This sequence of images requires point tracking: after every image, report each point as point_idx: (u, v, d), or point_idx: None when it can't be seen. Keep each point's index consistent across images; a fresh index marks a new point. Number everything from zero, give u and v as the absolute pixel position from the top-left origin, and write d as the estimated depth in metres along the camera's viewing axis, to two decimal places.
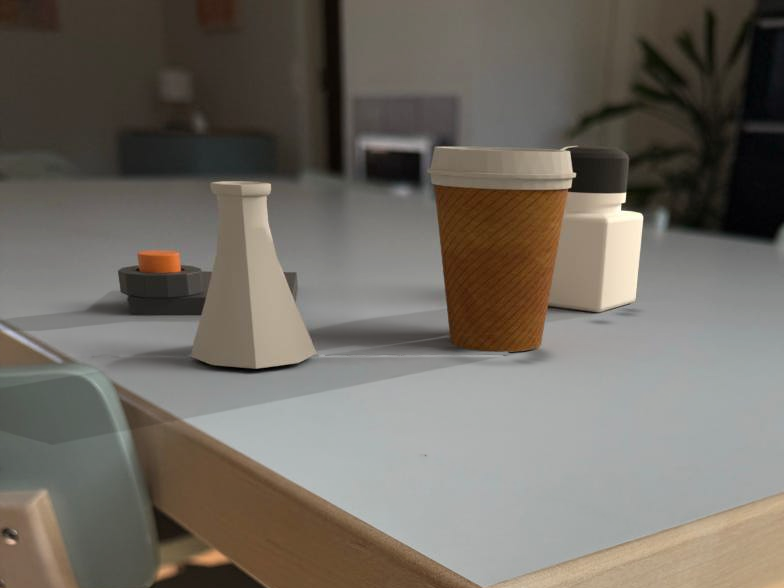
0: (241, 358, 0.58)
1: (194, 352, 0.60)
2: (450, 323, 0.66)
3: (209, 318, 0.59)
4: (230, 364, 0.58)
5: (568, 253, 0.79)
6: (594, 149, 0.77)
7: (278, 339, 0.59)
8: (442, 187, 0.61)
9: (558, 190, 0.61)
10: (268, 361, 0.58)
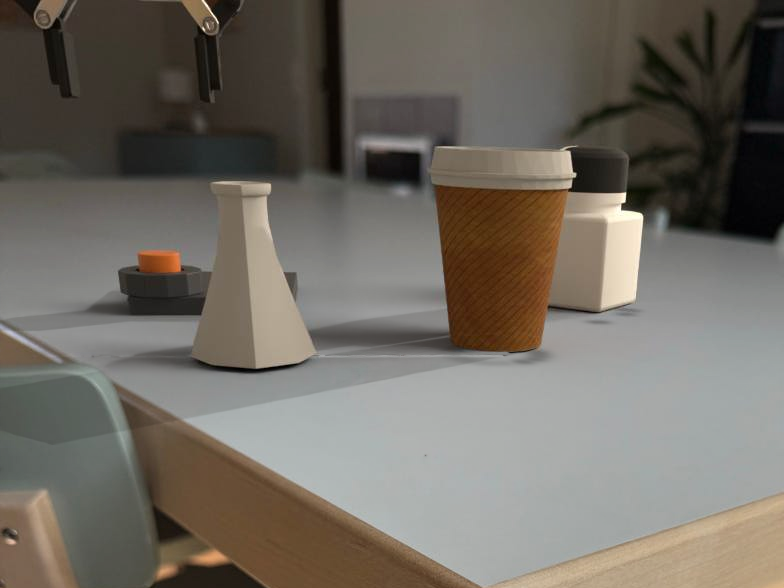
0: (241, 358, 0.58)
1: (194, 352, 0.60)
2: (450, 323, 0.66)
3: (209, 318, 0.59)
4: (230, 364, 0.58)
5: (568, 253, 0.79)
6: (594, 149, 0.77)
7: (278, 340, 0.59)
8: (442, 187, 0.61)
9: (559, 190, 0.61)
10: (268, 361, 0.58)
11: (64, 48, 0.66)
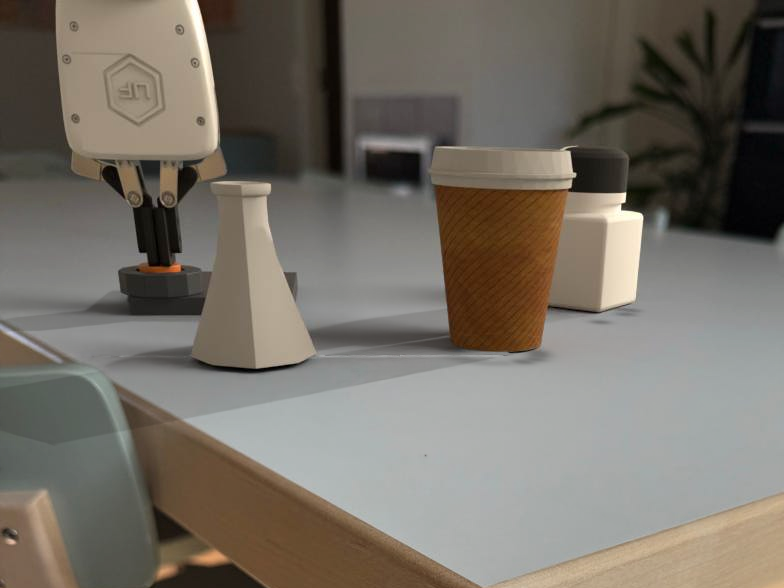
0: (241, 358, 0.58)
1: (194, 352, 0.60)
2: (450, 323, 0.66)
3: (209, 318, 0.59)
4: (230, 364, 0.58)
5: (568, 253, 0.79)
6: (594, 149, 0.77)
7: (278, 340, 0.59)
8: (442, 187, 0.61)
9: (558, 190, 0.61)
10: (268, 361, 0.58)
11: (152, 224, 0.71)
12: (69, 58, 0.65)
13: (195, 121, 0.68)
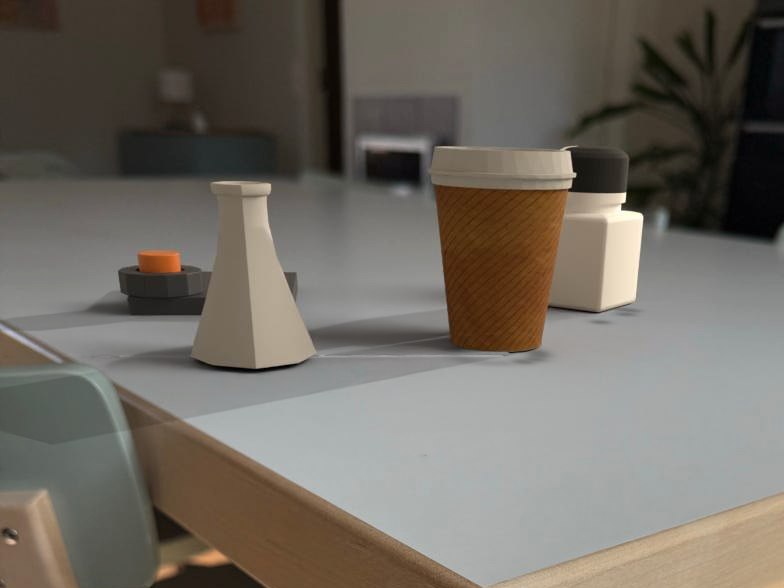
0: (241, 358, 0.58)
1: (194, 352, 0.60)
2: (450, 323, 0.66)
3: (209, 318, 0.59)
4: (230, 364, 0.58)
5: (568, 253, 0.79)
6: (594, 149, 0.77)
7: (278, 340, 0.59)
8: (442, 187, 0.61)
9: (559, 190, 0.61)
10: (268, 361, 0.58)
11: None
12: None
13: None
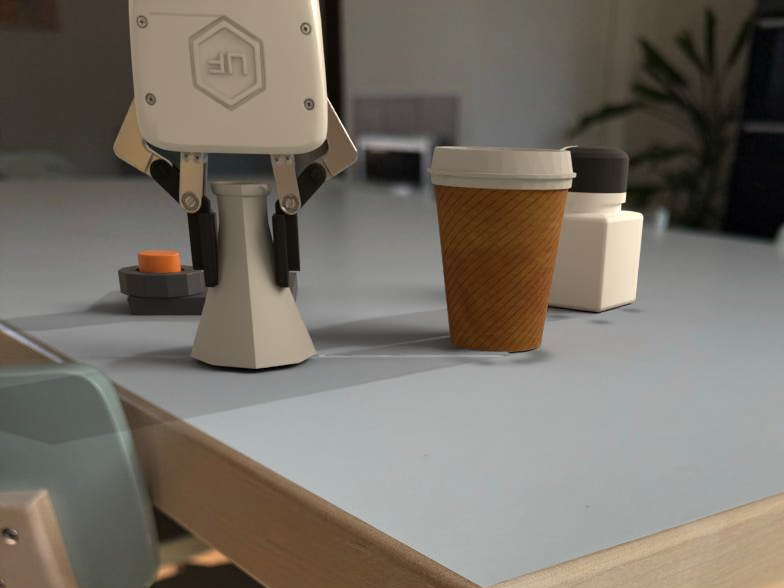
0: (241, 358, 0.58)
1: (194, 352, 0.60)
2: (450, 323, 0.66)
3: (209, 318, 0.59)
4: (230, 364, 0.58)
5: (568, 253, 0.79)
6: (594, 149, 0.77)
7: (278, 340, 0.58)
8: (442, 187, 0.61)
9: (558, 190, 0.61)
10: (268, 361, 0.58)
11: (212, 234, 0.56)
12: (146, 20, 0.50)
13: (302, 104, 0.53)
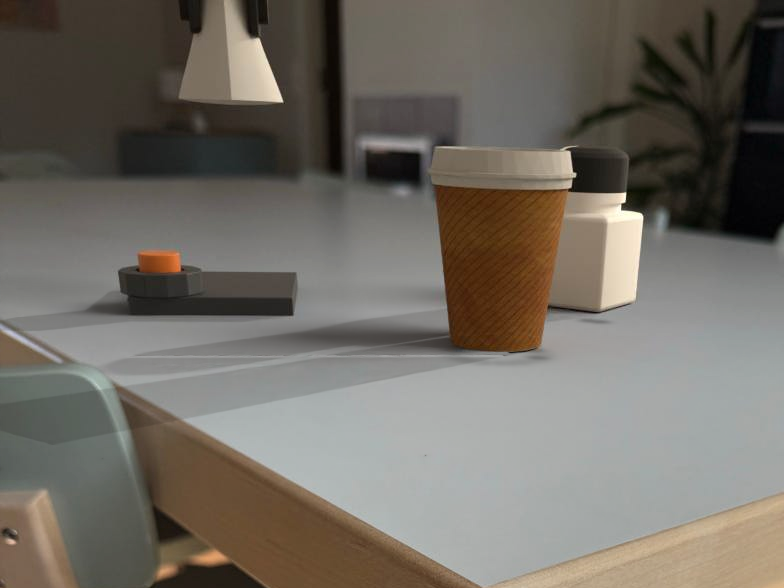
0: (219, 91, 0.71)
1: (182, 94, 0.73)
2: (450, 323, 0.66)
3: (193, 61, 0.71)
4: (210, 97, 0.71)
5: (568, 253, 0.79)
6: (594, 149, 0.77)
7: (250, 79, 0.71)
8: (442, 187, 0.61)
9: (559, 190, 0.61)
10: (242, 95, 0.71)
11: None
12: None
13: None
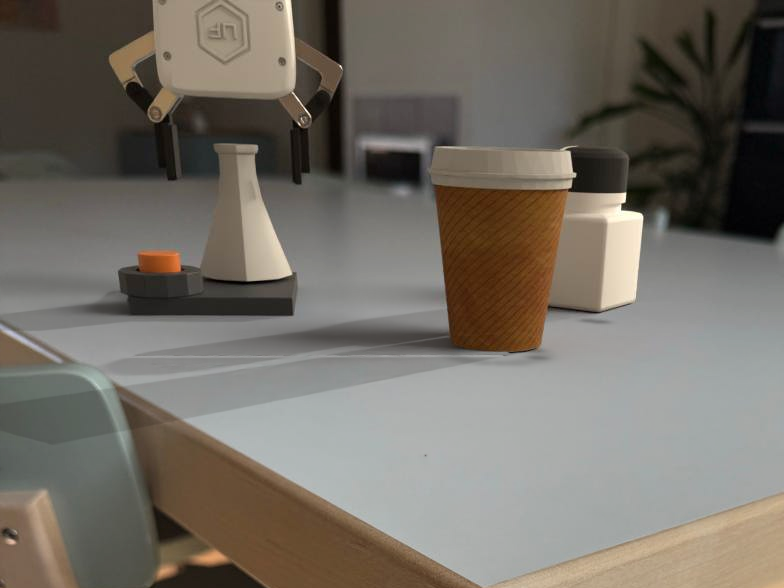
0: (236, 274, 0.79)
1: None
2: (450, 323, 0.66)
3: (212, 245, 0.80)
4: (228, 278, 0.79)
5: (568, 253, 0.79)
6: (594, 149, 0.77)
7: (263, 260, 0.79)
8: (442, 187, 0.61)
9: (559, 190, 0.61)
10: (256, 276, 0.79)
11: (172, 139, 0.75)
12: None
13: (277, 61, 0.73)
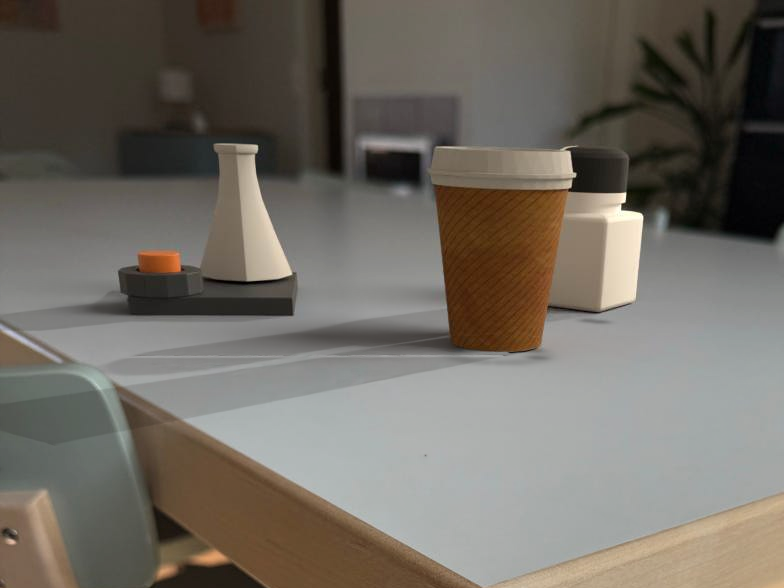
0: (236, 274, 0.79)
1: None
2: (450, 323, 0.66)
3: (212, 245, 0.80)
4: (228, 278, 0.79)
5: (568, 253, 0.79)
6: (594, 149, 0.77)
7: (263, 261, 0.79)
8: (442, 187, 0.61)
9: (559, 190, 0.61)
10: (256, 276, 0.79)
11: None
12: None
13: None
